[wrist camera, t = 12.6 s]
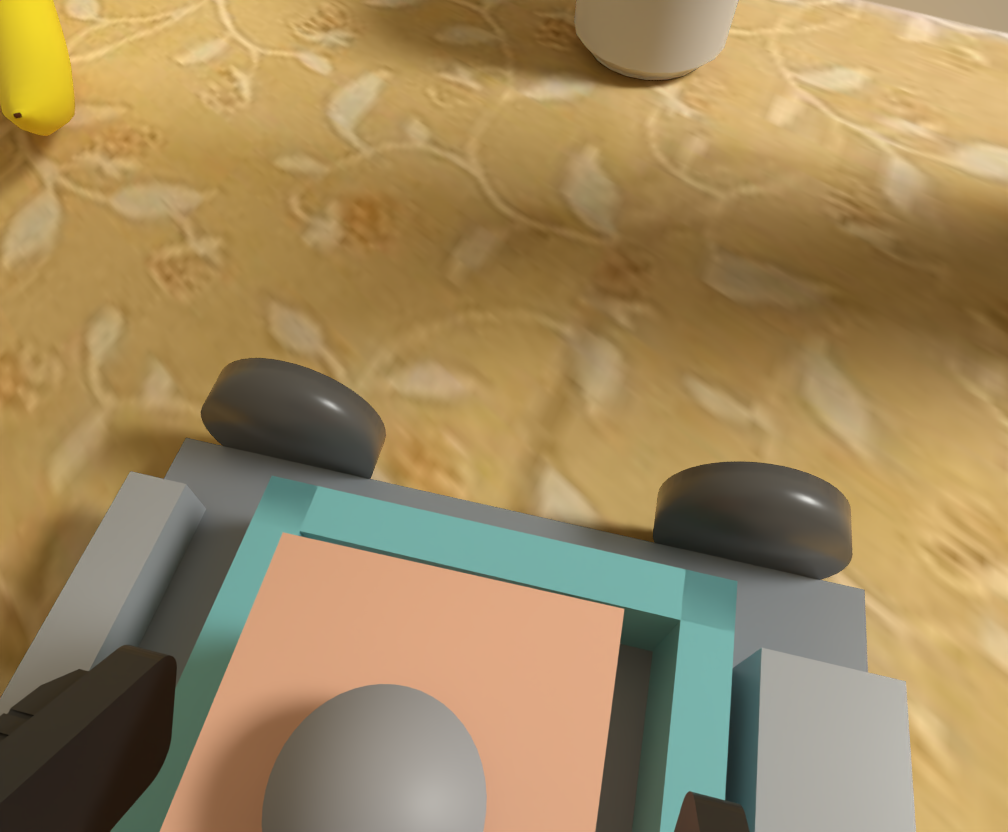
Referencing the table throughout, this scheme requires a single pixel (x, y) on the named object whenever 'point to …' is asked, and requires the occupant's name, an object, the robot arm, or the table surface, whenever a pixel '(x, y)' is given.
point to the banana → (34, 67)
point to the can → (654, 34)
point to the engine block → (404, 704)
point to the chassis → (530, 563)
